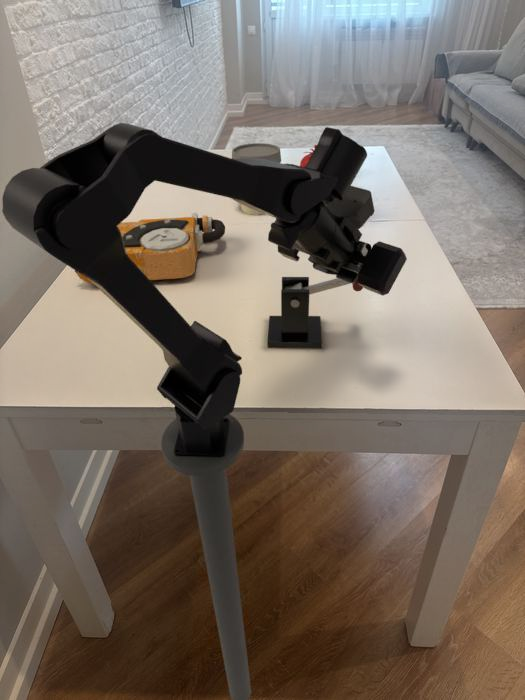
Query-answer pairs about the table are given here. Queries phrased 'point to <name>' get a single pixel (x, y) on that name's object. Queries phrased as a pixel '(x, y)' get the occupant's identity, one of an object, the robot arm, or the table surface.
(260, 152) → the reusable coffee cup
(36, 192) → the robot arm
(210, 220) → the device
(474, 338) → the table surface
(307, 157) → the red tomato
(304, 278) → the bracket
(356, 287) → the lever
